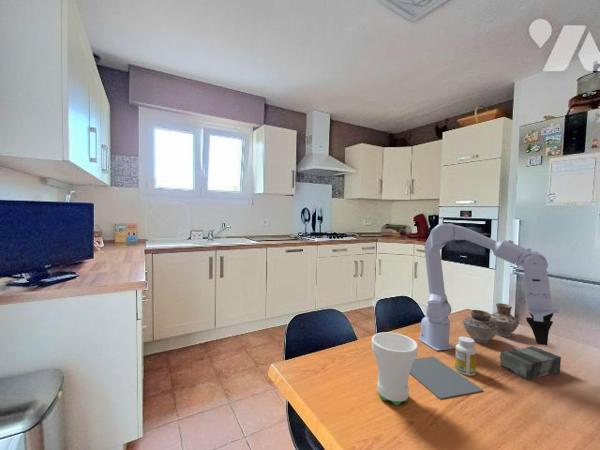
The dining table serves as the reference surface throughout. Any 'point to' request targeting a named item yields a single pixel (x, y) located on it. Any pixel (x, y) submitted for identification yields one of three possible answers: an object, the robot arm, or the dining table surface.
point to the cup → (394, 364)
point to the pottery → (490, 324)
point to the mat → (441, 378)
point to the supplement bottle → (465, 356)
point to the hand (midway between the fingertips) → (542, 339)
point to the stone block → (530, 362)
